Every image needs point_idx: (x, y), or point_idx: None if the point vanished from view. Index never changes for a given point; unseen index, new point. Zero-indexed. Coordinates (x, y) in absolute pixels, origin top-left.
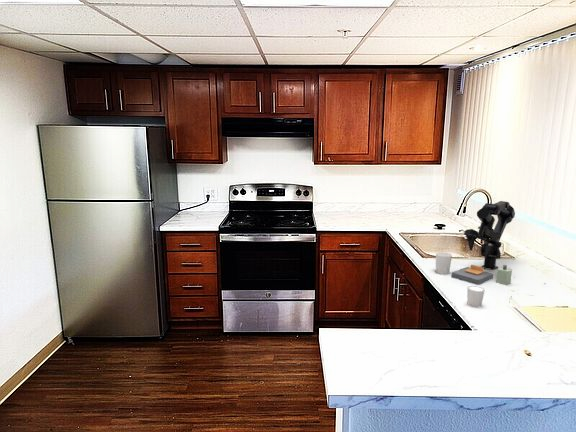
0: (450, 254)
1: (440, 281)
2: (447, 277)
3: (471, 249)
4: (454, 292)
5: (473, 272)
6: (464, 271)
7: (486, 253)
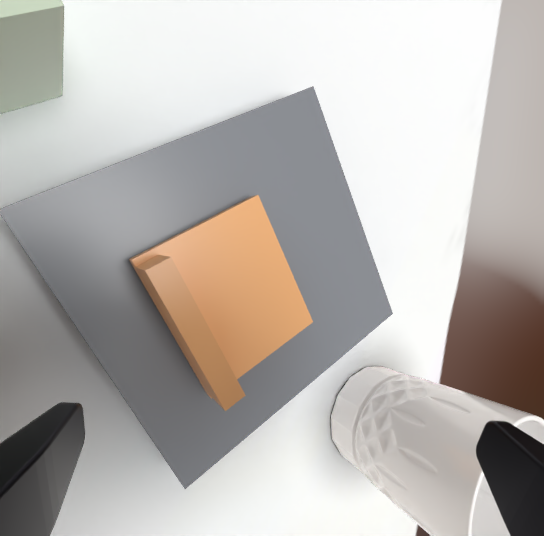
0: (466, 519)
1: (448, 233)
2: None
3: (518, 430)
4: (466, 50)
5: (273, 243)
6: None
7: (21, 527)
